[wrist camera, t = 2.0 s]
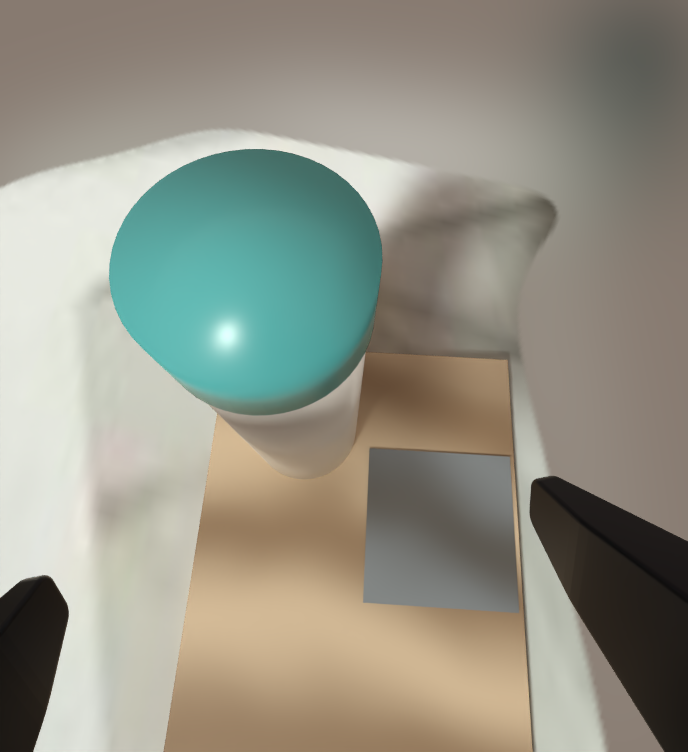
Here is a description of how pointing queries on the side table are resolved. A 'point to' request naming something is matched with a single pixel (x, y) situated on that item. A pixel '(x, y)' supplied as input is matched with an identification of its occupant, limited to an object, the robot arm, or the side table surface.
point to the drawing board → (364, 582)
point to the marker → (257, 297)
